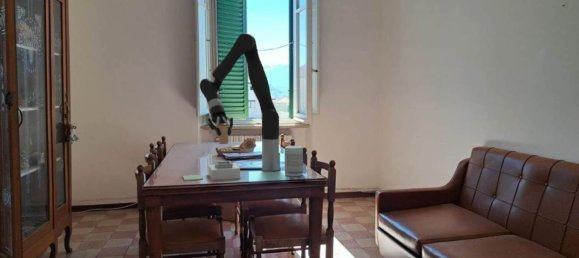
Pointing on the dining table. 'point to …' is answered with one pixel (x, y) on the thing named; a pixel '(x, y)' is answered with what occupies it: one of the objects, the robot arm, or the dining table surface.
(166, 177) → the dining table surface
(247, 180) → the dining table surface
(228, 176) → the parts tub
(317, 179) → the dining table surface
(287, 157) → the supplement tub
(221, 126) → the tan brown block
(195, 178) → the sage mat
